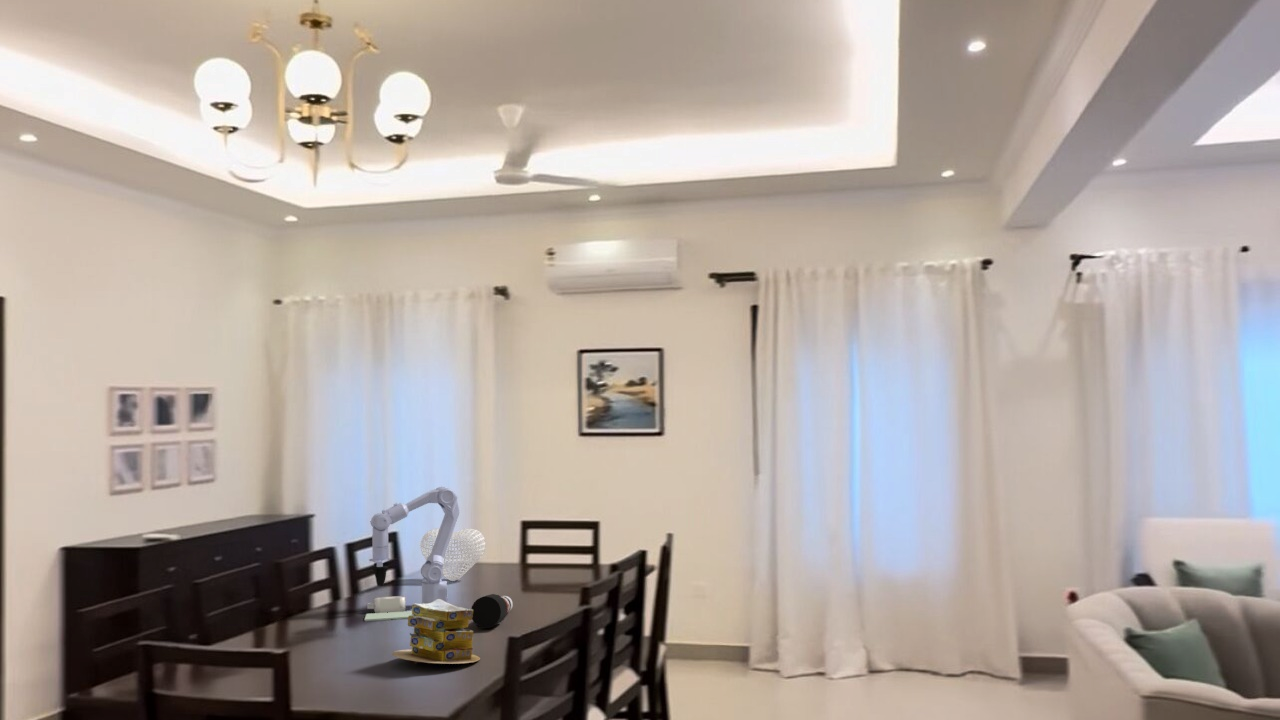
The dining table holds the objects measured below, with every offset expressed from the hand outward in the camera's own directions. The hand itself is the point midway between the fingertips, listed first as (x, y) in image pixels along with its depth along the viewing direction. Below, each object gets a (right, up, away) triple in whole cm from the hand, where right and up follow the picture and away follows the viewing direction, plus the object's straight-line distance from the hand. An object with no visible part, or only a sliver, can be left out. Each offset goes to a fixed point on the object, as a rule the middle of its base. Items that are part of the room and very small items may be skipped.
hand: (381, 583), depth 354 cm
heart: (+15, -13, +61) cm, 64 cm away
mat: (+6, -9, -11) cm, 16 cm away
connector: (+2, -10, -2) cm, 10 cm away
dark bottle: (+45, -8, -19) cm, 50 cm away
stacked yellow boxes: (+36, -5, -76) cm, 84 cm away
